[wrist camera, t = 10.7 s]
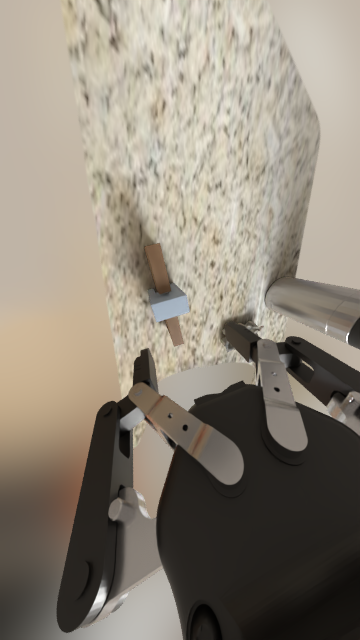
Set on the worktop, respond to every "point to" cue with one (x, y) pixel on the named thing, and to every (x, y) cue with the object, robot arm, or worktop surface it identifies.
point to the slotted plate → (163, 287)
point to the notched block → (168, 303)
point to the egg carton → (249, 325)
